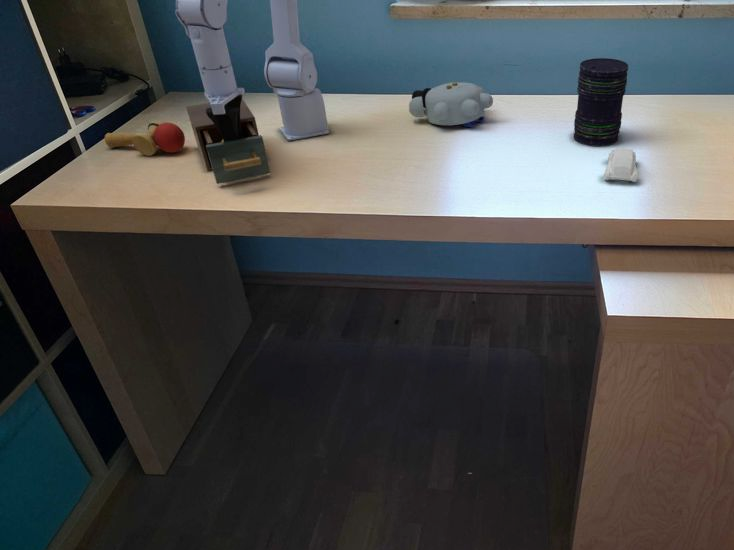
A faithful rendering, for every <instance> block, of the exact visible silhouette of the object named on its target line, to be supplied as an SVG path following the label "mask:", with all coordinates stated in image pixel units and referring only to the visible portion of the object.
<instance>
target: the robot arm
mask: <svg viewBox="0 0 734 550" xmlns="http://www.w3.org/2000/svg"><path fill="white" fill-rule="evenodd" d="M228 2H229V1H228V0H175V11H174V14H175V16H176V18H177V20H178V21H179V23H180V24H181V25H182V27H183V28H184V31H185V35H186V36H187V37H188V38H189V39H190V42H191V45H192V49H193V52H194V56H195V60H196V64H197V67H198V70H199V75H200V79H201V82H202V85H203V89H204V93H203V94H204V97H205V99H206V100H207V101H208V103H210V104H211V108H207V109H206V114H207V116H208V117H209V118H210V119H211V120H212V122H213V123H214V124H215V126H216V127H217V129H218V131H219V133H220V134H221V136H222V139H223V140H224V142H226V141H231V140H237V139H238V135H241V121H240V106H241V100H242V99H243V95H244V94H245V88H244V87H238V85H237V81H236V78H235V73H234V69H233V64H232V60H231V56H230V52H229V48H228V44H227V39H226V35H225V31H224V27H223V26H224V24H225V23H227V17H228V9H227V8H228ZM269 3H270V14H271V26H272V27H271V28H272V36H273V37H272V38H273V43H272V44H271V45H269V47H268V48H267V49H266V50H265V52H264V55H265V63H264V67H263V68H264V69H263V76H264V79H265V82H266V84H267V85H268V87H269V88H271V89H272V91H273V93H274V94H276V96H277V100H278V106H279V111H280V116H281V120H282V125H283V126H281V127H279V131H280V132H281V133H282V135H283V136H284V138H285V139H286V141H295V140H301V139H305V138H311V137H318V136H323V135H327V134H330V129H329V125H328V117H327V112H326V105H325V100H324V97H323V94H322V92H321V89H320V88H317V87H316V86H317V82H318V72H317V69H316V65H315V61H314V54H313V53H312V52H311V51H310V50H309V49H308V48H307V47H305V45H304V44H302V43H301V39H300V38H301V37H300V36H301V35H300V24H299V11H298V0H269ZM315 87H316V88H315Z"/></svg>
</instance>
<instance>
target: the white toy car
mask: <svg viewBox="0 0 734 550" xmlns="http://www.w3.org/2000/svg"><path fill="white" fill-rule="evenodd" d="M636 161H637V155H636V152H635V151H634V149H631V148H626V147H622V148H621V147H617V148H616V147H615V148H614V149H611V151H610V152H609V153H608V157H607V165H606V167H605V171H604V175H603V176H604V181H610V180H621V181H627V182H628V181H629V182H632V183H637V182H638V178H639V169H638V167H637V166H636Z"/></svg>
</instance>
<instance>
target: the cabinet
mask: <svg viewBox="0 0 734 550" xmlns="http://www.w3.org/2000/svg"><path fill="white" fill-rule="evenodd" d="M185 108H186V111H187V115H188V118H189V122H190V125H191V128H192V132H193V135H194V139H195V143H196V145H197V149H198V152H199V153H200V156H201V158H202V159H201V160H202V161H203V163H204V166H205V168H206V171H207V172H210V171H213V169H212V166H211V162H210V159H209V155H208V152H207V148H206V144H205V140H204V137H203V133H202V129H208V128H214V127H216V126H215V124H214V123H213V122H212V120H211V119H210V118H209V117H208V116H207V114H206V109H207V108H211V104H210V102H207V103H199V104H194V105H187V106H186V107H185ZM240 121H241V123H244V122H249V123H250V124H251V126H252V128H253V129H254V131H255V132H256V134H257V136H260V134H259V130H258V126H257V125H258V124H257V120H256V117H255V115H254V114H253V112H252V111H251V109H250V108H249V106H248V105H247V103H246V102H245V100H244V99H243V98H242V100H241V106H240Z"/></svg>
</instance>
